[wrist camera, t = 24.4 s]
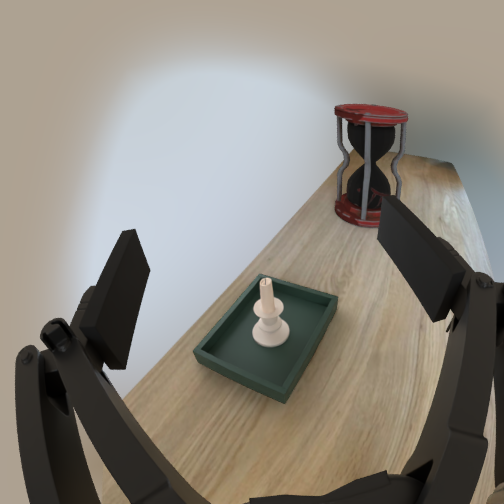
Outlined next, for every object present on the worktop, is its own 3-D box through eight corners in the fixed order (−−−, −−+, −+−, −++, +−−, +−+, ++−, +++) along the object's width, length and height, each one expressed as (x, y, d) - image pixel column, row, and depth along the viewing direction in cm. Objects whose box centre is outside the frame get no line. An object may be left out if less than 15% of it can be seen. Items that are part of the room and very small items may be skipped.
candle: (252, 348, 39) (242, 294, 33) (252, 320, 43) (243, 265, 37) (291, 346, 38) (289, 291, 32) (288, 317, 43) (285, 262, 37)
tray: (285, 404, 32) (284, 394, 31) (197, 362, 39) (192, 350, 37) (336, 309, 44) (338, 296, 42) (260, 285, 50) (259, 273, 49)
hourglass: (341, 193, 76) (341, 101, 62) (399, 202, 69) (407, 108, 55) (327, 221, 65) (326, 110, 51) (396, 234, 58) (409, 119, 44)
